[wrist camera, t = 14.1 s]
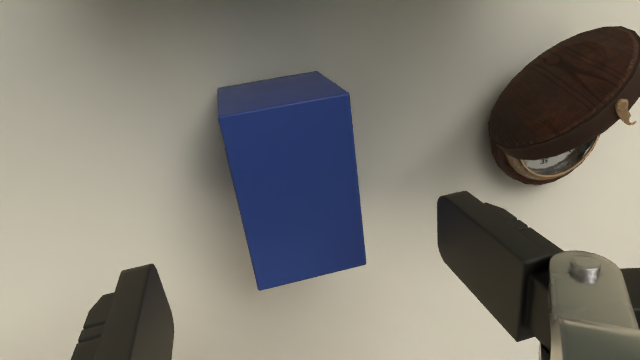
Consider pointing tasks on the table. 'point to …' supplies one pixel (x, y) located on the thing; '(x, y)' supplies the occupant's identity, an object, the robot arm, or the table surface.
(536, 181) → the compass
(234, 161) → the block
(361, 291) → the table surface
